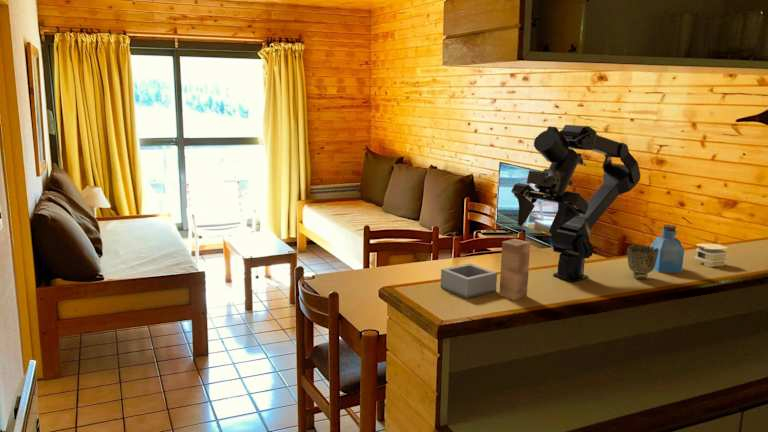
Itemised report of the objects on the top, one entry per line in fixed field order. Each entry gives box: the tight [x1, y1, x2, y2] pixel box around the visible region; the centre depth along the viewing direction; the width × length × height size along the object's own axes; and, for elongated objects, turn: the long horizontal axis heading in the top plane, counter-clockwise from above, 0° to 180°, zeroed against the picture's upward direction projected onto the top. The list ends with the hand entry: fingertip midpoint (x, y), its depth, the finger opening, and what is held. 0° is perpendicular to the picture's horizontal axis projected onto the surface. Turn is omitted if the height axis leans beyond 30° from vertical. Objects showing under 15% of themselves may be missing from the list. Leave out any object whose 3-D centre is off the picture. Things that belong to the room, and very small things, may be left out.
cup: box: [627, 244, 659, 280], centre depth 161 cm, size 8×7×8 cm
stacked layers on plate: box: [694, 243, 728, 268], centre depth 175 cm, size 10×9×6 cm
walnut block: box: [498, 238, 531, 301], centre depth 146 cm, size 4×4×13 cm
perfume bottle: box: [650, 224, 685, 274], centre depth 169 cm, size 6×6×12 cm
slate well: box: [440, 262, 498, 300], centre depth 151 cm, size 9×9×5 cm
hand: (534, 229), depth 149 cm, fingers open, 9 cm apart
